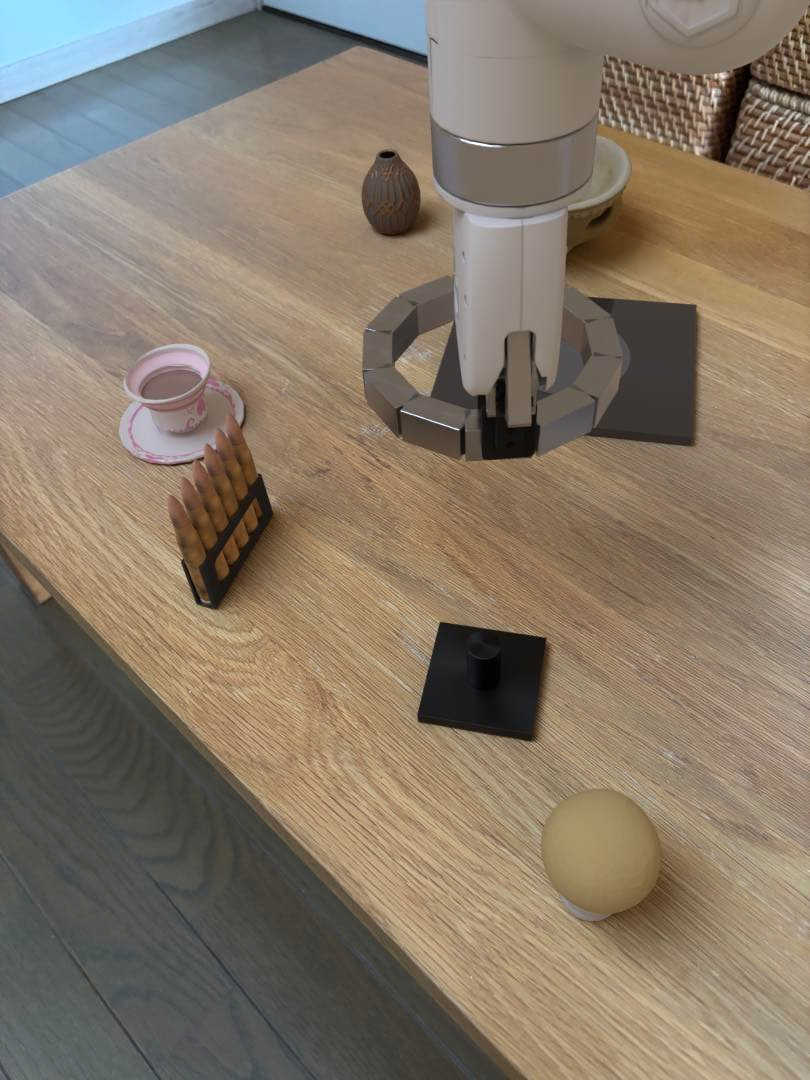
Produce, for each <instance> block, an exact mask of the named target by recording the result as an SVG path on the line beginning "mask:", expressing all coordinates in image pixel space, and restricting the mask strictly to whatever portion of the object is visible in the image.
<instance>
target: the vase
mask: <svg viewBox="0 0 810 1080" xmlns="http://www.w3.org/2000/svg"><path fill="white" fill-rule="evenodd" d="M360 196H361V197H360V199H361V205H362V206H361V207H362V211H363V213H364V215H365V218H366V220H367V221H368V224H370V226H371V227H372V228H374V229H375V230H376V231H378V232H379V233H381V234H385V235H389V236H391V235H399V234H402V233H405V232H406V231H408V230H409V229H410V228H411V227H412V226H413V225H414V224H415V222H416V220H417V219H418V217H419V214H420V210H421V205H422V204H421V202H422V201H421V200H422V197H421V189H420V184H419V181H418V178H417V177H416V174H415V173H414V172H413V170H412V169H411V168H410V166H409V165H407V163H406V162H404V160H403V159H402V157H401V156H400V154H399V153H398V151H397V150H395V149H391V148H390V149H389V148H388V149H383V150H380V151H379V152H377V154H376V157H375V159H374V162H373V164H372V165H371V167H369V169H368V171H367V172H366V174H365V177H364V179H363V181H362V186H361V195H360Z"/></svg>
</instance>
